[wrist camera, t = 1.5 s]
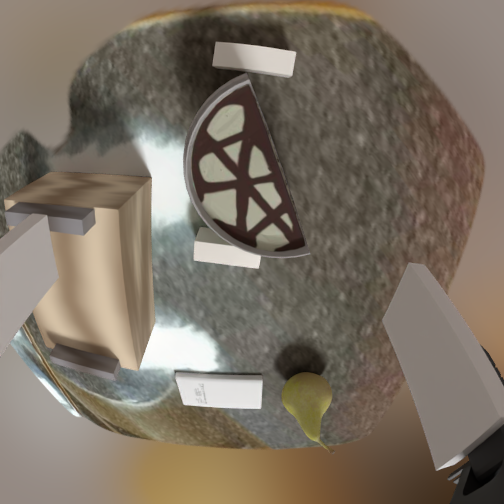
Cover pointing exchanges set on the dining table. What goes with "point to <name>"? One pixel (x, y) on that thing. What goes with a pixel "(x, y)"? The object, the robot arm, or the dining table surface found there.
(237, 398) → the external hard drive
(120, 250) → the wooden stand
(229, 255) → the pair of white blocks
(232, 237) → the food container
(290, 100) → the dining table surface
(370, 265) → the dining table surface
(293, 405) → the fruit
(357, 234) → the dining table surface
